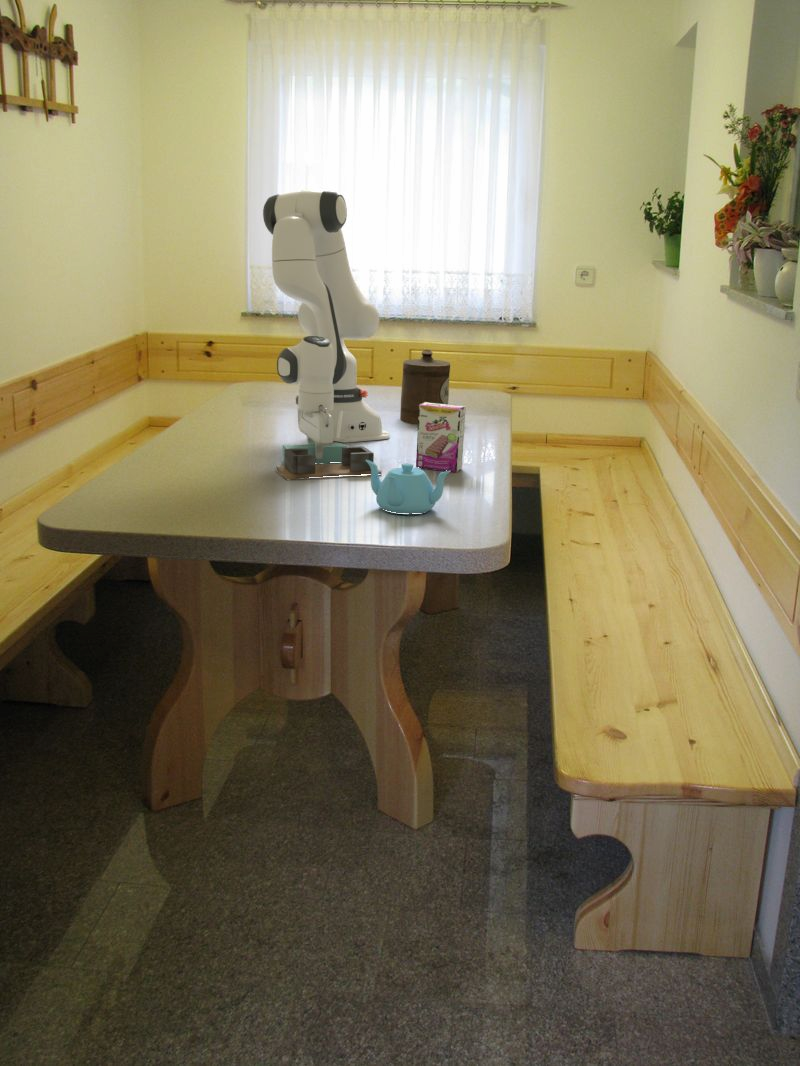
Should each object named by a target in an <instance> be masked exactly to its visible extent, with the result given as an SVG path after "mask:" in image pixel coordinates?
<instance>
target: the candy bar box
mask: <svg viewBox="0 0 800 1066" xmlns="http://www.w3.org/2000/svg"><path fill="white" fill-rule="evenodd" d="M465 419H466V406H465V405H453V404H448V405H446V404H437V403H428V402H424V403H422V404H420V405H419V415H418V424H417V434H416V435H417V439H416V459H415V467H419V468H420V469H424V468H427V469H426V470H431V469H436V470H435V471H440V470H447V471H453V472H452V473H458V472H459V471H461V470H462V468H463V456H464V455H463V453H464V440H465V439H464V438H465V425H466V424H465V421H466V420H465ZM457 471H458V472H457Z"/></svg>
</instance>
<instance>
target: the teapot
mask: <svg viewBox="0 0 800 1066" xmlns="http://www.w3.org/2000/svg"><path fill="white" fill-rule="evenodd" d="M366 462H367V463H368V464H369V465H370V468H371V476H370V486H371V490H372V492H373V493H374V494H375V495H376V499H375V500H376V504H377V505H378V506H379V508H380V507H381V508H382V509H384V510H387V511H391V512H396V513H409V514H412V513H424V512H427V511H429V510H430V511H431V510H433V508H434V506H435V505H436V504H437V502H438V501H440V499H441V498H442V496H443V493H444V481H445V477H447V475H448V474H450V473H452V472H451V471H440V473H439V474H438V475H437V479H436V485H435V487H433V484H432V482H431V480H430V478H429V477H428V474H427V473H426V471H424V469H423V468H418V467H416V466H415V467H414V464H413V463H410V462H408V463H407V462H404V463H401V464H400V465H401V467H396V468H392V469H390V470H389V471H388V472H387V473H386V475H385V476H384V478H383V479H382V480H381V479H380V476H379V475H378V470H379V469H378V466H377V465H376V463H375V462H374V461H373V462H372V461H369V460H366ZM381 508H380V509H381ZM382 509H381V510H382ZM430 511H429V512H430ZM427 513H428V512H427Z"/></svg>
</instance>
